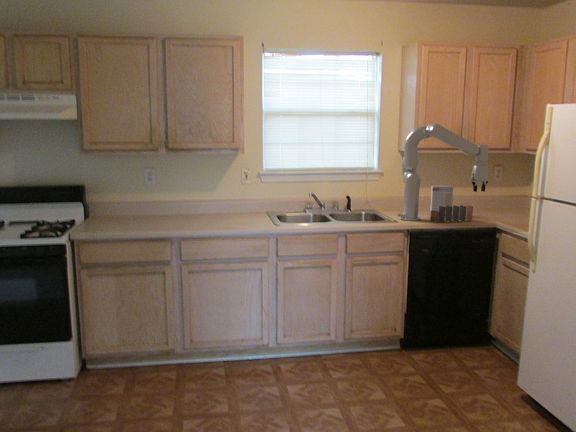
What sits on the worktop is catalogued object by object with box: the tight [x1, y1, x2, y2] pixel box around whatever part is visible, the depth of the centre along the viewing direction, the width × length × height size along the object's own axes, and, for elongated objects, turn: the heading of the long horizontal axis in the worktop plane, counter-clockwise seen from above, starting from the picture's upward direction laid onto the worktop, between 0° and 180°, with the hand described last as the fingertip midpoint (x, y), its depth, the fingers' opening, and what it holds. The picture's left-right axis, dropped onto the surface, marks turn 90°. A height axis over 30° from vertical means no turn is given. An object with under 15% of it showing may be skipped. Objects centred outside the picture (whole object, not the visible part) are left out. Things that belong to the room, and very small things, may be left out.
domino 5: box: [465, 204, 474, 222], centre depth 337 cm, size 2×5×10 cm, turn 14°
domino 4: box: [459, 204, 467, 222], centre depth 336 cm, size 2×5×10 cm, turn 13°
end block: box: [429, 210, 440, 224], centre depth 332 cm, size 2×7×7 cm, turn 14°
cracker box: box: [429, 184, 454, 217], centre depth 356 cm, size 14×6×21 cm, turn 84°
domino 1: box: [439, 206, 446, 223], centre depth 333 cm, size 2×5×10 cm, turn 14°
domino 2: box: [445, 206, 453, 223], centre depth 334 cm, size 2×5×10 cm, turn 13°
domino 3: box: [452, 205, 460, 223], centre depth 335 cm, size 2×5×10 cm, turn 13°
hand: (479, 191), depth 336 cm, fingers open, 5 cm apart
